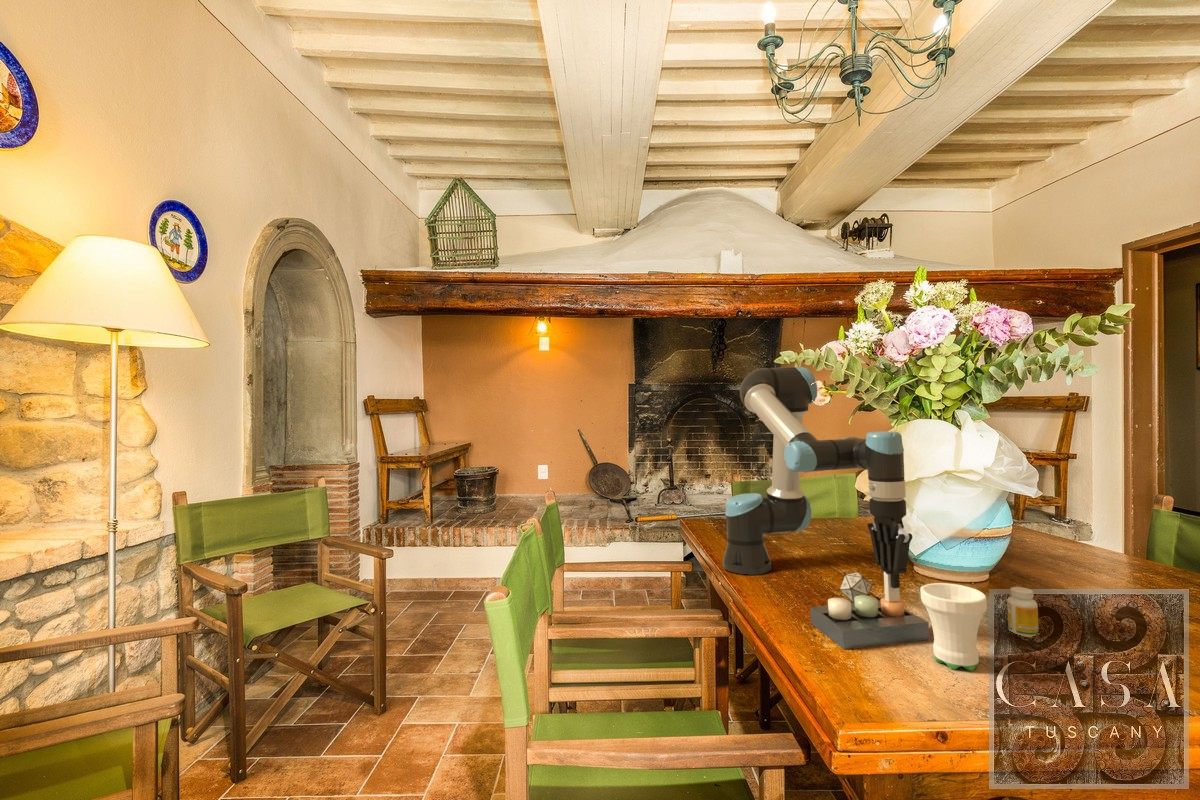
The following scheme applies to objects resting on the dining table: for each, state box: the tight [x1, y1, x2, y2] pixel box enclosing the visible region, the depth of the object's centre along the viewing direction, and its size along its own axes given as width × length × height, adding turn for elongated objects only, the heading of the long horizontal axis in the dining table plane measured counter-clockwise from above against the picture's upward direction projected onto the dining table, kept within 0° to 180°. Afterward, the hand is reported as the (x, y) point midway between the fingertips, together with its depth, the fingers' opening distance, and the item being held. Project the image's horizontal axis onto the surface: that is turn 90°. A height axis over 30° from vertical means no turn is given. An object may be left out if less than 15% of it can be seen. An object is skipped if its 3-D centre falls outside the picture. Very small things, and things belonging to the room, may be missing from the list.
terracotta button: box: [880, 597, 906, 617], centre depth 126 cm, size 5×5×3 cm
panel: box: [809, 599, 930, 650], centre depth 125 cm, size 14×20×4 cm
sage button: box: [854, 595, 879, 617], centre depth 125 cm, size 5×5×3 cm
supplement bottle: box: [1006, 586, 1040, 638], centre depth 121 cm, size 5×5×10 cm
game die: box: [836, 569, 876, 603], centre depth 143 cm, size 9×8×10 cm
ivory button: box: [827, 597, 852, 620], centre depth 124 cm, size 5×5×3 cm
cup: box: [920, 582, 988, 672], centre depth 109 cm, size 11×11×14 cm
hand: (892, 600), depth 126 cm, fingers closed
